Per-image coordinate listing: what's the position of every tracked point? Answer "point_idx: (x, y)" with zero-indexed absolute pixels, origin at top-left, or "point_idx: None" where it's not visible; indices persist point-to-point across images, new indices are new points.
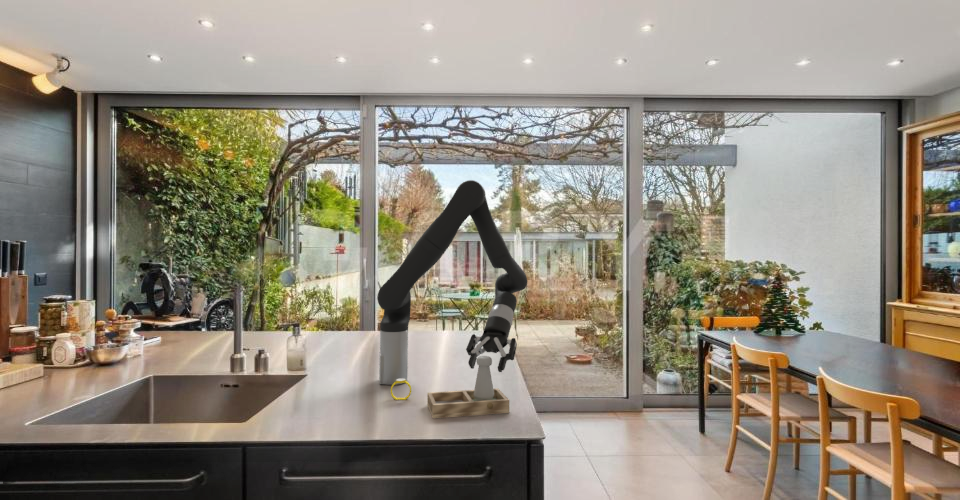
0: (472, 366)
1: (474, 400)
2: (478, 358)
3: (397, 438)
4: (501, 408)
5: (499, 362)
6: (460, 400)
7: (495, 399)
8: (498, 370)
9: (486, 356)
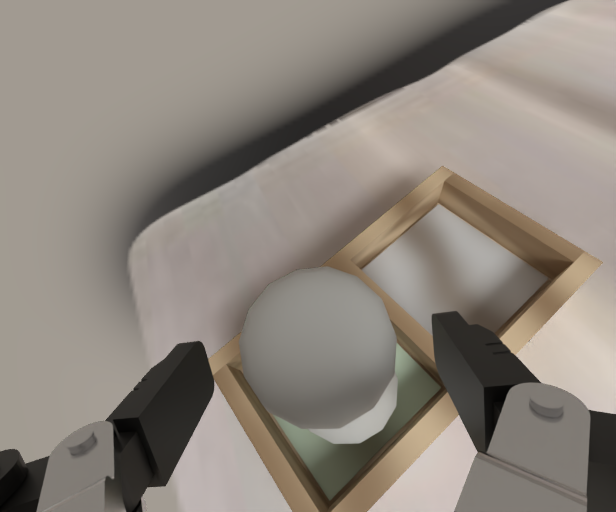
0: (435, 340)
1: (399, 392)
2: (356, 282)
3: (413, 84)
4: None
5: (170, 369)
6: None
7: (315, 464)
8: (207, 362)
9: (292, 348)
